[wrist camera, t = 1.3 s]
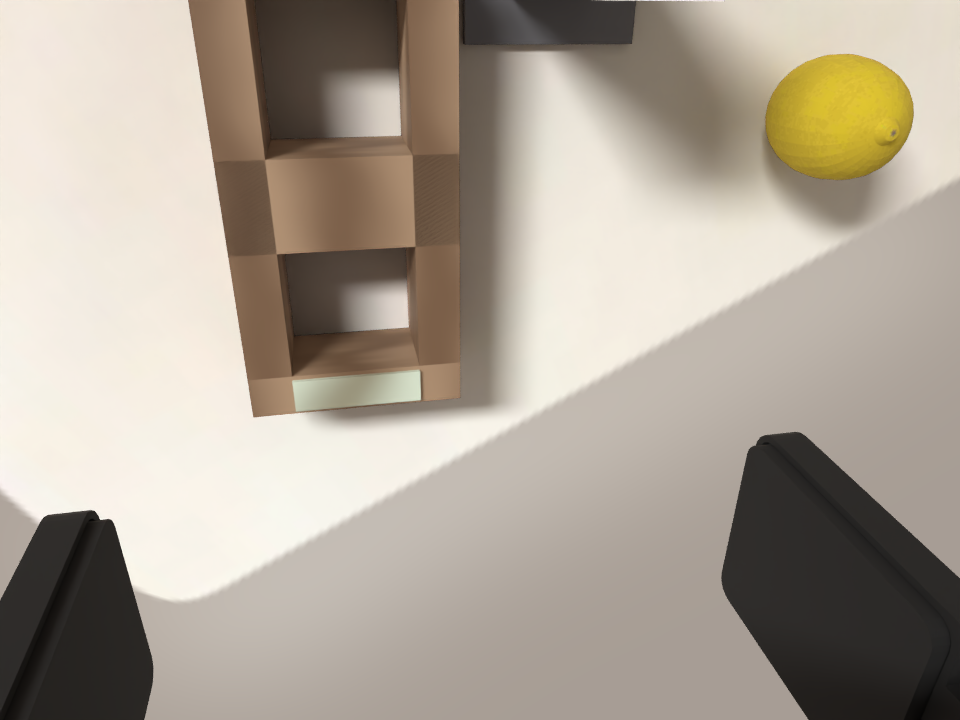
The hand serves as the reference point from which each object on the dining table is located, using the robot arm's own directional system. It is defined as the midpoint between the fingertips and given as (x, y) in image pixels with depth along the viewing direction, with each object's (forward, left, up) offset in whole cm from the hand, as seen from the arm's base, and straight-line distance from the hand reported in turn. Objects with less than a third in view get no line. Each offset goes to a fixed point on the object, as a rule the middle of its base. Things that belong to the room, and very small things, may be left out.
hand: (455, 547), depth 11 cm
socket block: (+1, +1, -27) cm, 27 cm away
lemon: (-22, -2, -28) cm, 35 cm away
